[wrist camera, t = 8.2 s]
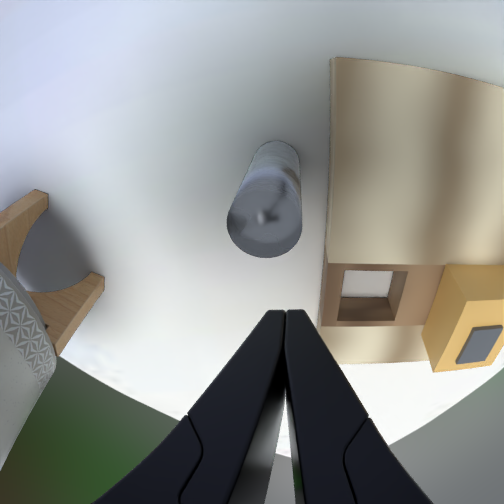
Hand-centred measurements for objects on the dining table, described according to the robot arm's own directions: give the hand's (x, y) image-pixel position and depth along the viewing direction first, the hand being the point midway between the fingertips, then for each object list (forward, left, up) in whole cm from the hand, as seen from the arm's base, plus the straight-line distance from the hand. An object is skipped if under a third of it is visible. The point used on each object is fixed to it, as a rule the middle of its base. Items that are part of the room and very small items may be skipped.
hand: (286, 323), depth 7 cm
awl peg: (+1, 0, -12) cm, 12 cm away
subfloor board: (-9, +4, -12) cm, 16 cm away
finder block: (-12, +8, -10) cm, 17 cm away
